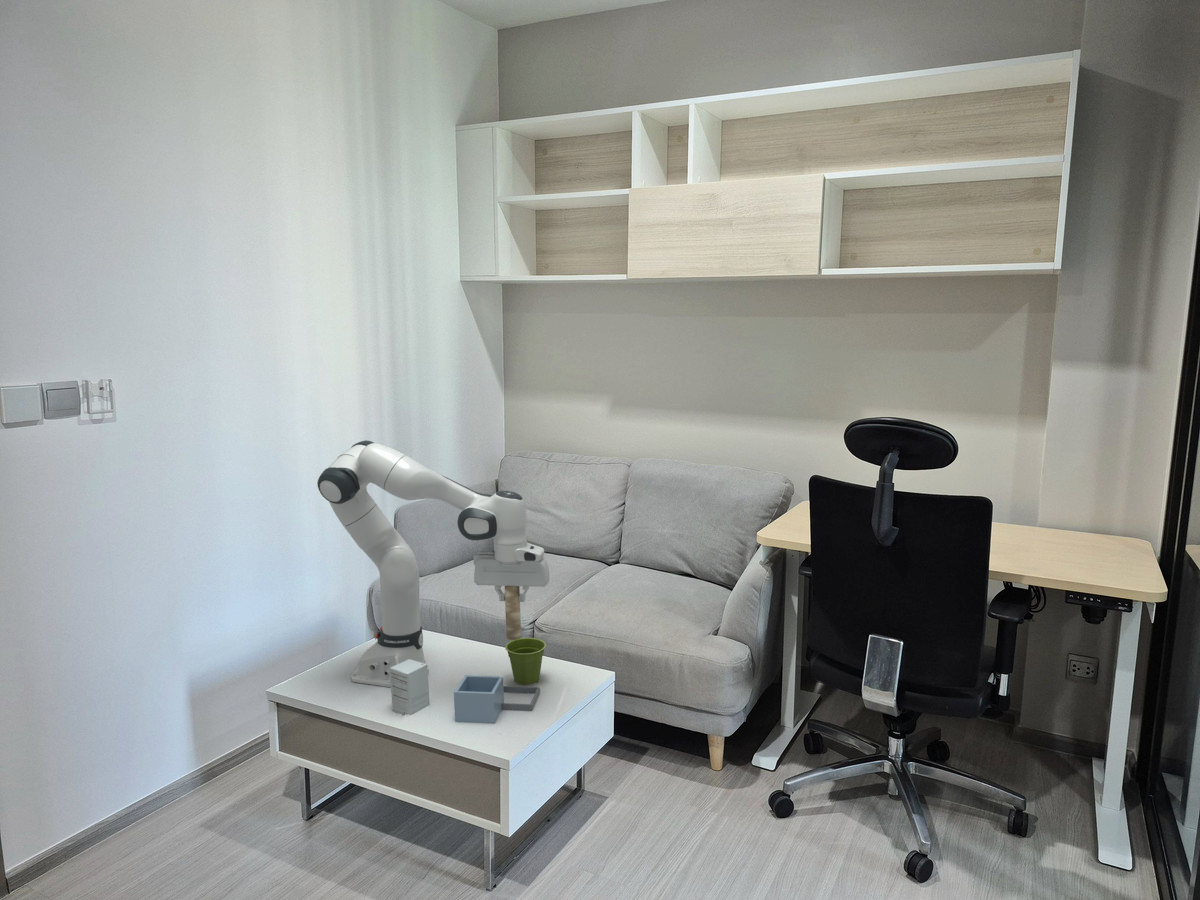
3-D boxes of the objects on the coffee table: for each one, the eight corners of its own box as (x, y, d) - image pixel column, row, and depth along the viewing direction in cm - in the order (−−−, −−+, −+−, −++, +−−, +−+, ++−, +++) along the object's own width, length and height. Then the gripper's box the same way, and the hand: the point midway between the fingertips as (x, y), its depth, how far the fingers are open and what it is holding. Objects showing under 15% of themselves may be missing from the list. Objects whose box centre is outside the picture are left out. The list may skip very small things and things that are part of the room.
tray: (491, 712, 226) (490, 703, 226) (501, 693, 237) (500, 685, 237) (531, 713, 225) (531, 705, 224) (540, 695, 236) (539, 687, 235)
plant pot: (498, 686, 242) (497, 649, 240) (521, 670, 253) (519, 635, 251) (533, 694, 237) (531, 656, 235) (554, 678, 247) (553, 641, 245)
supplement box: (411, 701, 234) (409, 658, 232) (430, 707, 230) (428, 664, 228) (391, 711, 228) (388, 667, 226) (410, 718, 224) (407, 673, 222)
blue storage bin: (455, 724, 220) (453, 692, 218) (466, 706, 230) (465, 675, 229) (494, 726, 218) (493, 693, 217) (504, 707, 229) (503, 676, 227)
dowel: (504, 639, 226) (502, 586, 224) (508, 634, 230) (506, 581, 228) (519, 640, 226) (517, 586, 223) (522, 634, 230) (520, 582, 227)
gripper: (469, 553, 222) (471, 603, 225) (545, 555, 220) (546, 605, 222) (476, 547, 229) (478, 596, 231) (549, 548, 226) (551, 597, 228)
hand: (512, 600), depth 226 cm, fingers closed on dowel, 4 cm apart
